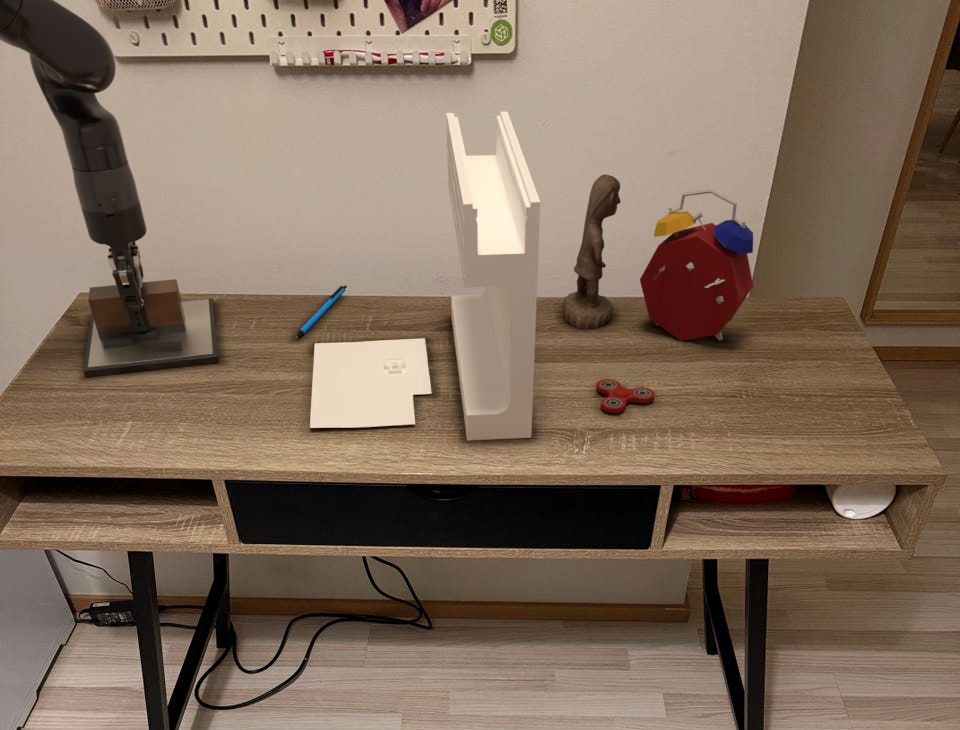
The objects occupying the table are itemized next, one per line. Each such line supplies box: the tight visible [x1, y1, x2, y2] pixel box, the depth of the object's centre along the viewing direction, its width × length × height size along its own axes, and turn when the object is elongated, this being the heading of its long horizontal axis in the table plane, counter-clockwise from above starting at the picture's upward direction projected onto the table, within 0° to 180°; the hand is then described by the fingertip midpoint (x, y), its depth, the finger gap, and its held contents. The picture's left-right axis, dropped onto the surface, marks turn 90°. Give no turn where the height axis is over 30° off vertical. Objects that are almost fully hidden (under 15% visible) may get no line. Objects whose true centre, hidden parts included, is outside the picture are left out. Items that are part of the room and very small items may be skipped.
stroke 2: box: [129, 330, 159, 341], centre depth 134 cm, size 4×1×1 cm, turn 104°
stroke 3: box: [153, 341, 183, 351], centre depth 132 cm, size 4×1×1 cm, turn 94°
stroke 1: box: [103, 336, 134, 349], centre depth 132 cm, size 4×1×1 cm, turn 112°
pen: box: [295, 285, 348, 339], centre depth 143 cm, size 1×19×1 cm, turn 164°
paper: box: [309, 337, 432, 429], centre depth 126 cm, size 25×17×1 cm
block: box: [445, 111, 541, 441], centre depth 119 cm, size 35×8×28 cm, turn 4°
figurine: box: [562, 174, 621, 330], centre depth 135 cm, size 9×8×20 cm
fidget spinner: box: [595, 378, 656, 414], centre depth 123 cm, size 8×7×1 cm
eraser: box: [87, 278, 186, 341], centre depth 134 cm, size 12×4×6 cm, turn 104°
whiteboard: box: [83, 298, 220, 378], centre depth 136 cm, size 18×20×1 cm
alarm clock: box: [639, 189, 754, 341], centre depth 130 cm, size 15×9×20 cm, turn 59°
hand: (141, 322), depth 135 cm, fingers closed on eraser, 4 cm apart
